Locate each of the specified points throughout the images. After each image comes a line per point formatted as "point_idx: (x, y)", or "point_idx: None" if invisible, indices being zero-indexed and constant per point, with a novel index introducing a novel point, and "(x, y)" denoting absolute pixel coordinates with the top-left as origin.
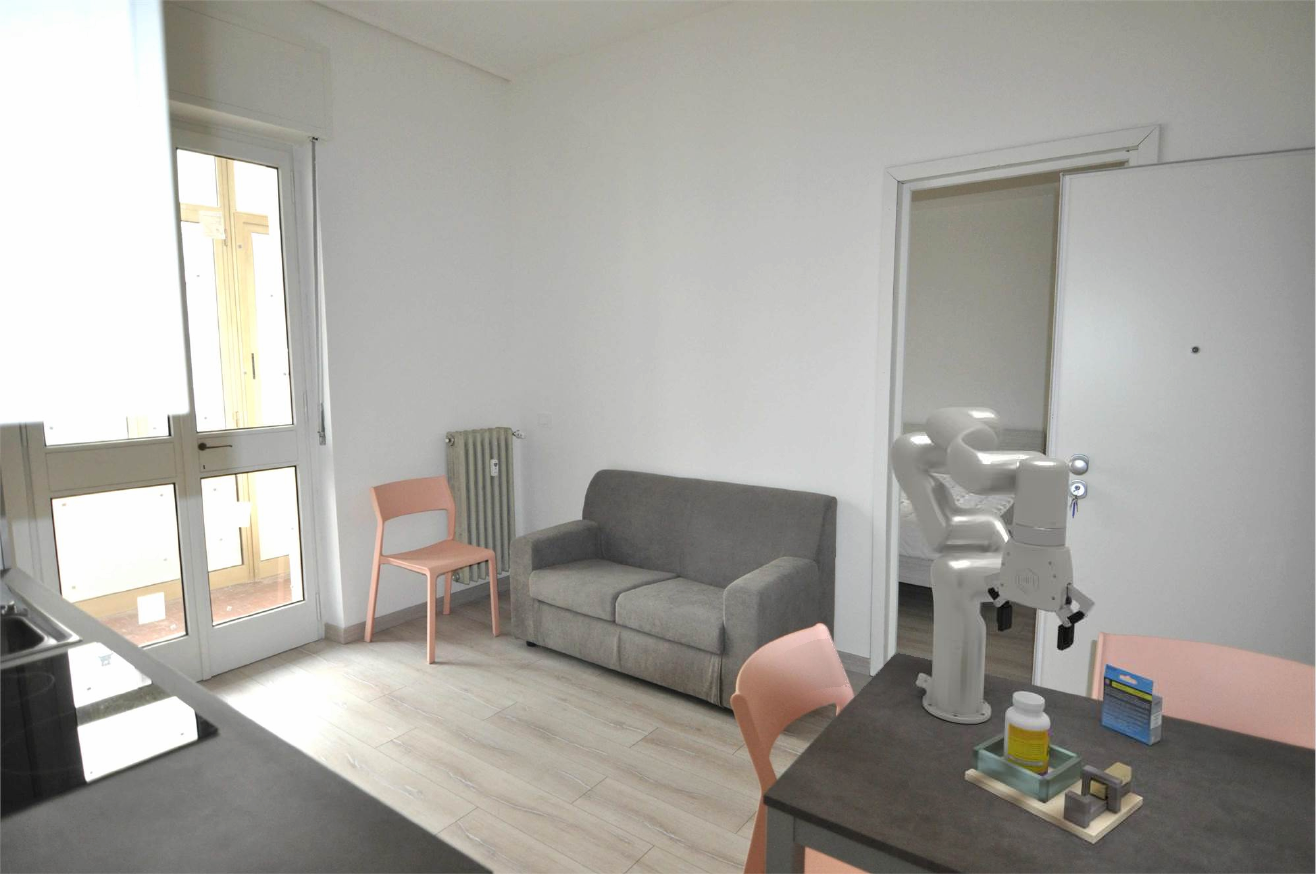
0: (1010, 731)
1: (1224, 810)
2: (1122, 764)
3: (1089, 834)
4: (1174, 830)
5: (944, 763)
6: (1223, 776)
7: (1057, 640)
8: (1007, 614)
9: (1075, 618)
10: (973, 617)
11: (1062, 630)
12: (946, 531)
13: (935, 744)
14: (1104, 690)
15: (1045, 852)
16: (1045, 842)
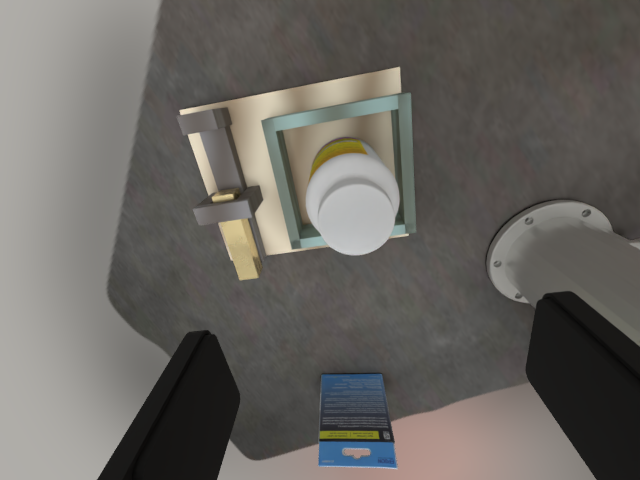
0: (360, 150)
1: (197, 320)
2: (250, 277)
3: (186, 109)
4: (181, 238)
5: (452, 76)
6: (245, 375)
7: (192, 368)
8: (608, 431)
9: None
10: None
11: (124, 445)
12: None
13: (503, 118)
14: (387, 419)
15: (187, 8)
16: (208, 36)
